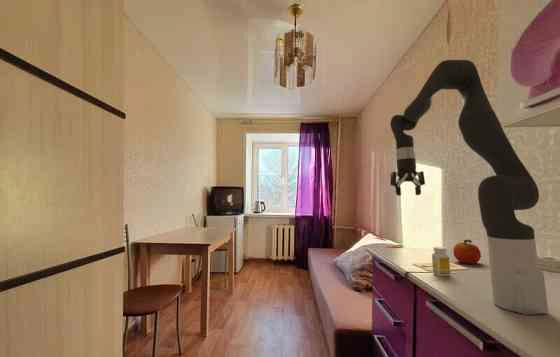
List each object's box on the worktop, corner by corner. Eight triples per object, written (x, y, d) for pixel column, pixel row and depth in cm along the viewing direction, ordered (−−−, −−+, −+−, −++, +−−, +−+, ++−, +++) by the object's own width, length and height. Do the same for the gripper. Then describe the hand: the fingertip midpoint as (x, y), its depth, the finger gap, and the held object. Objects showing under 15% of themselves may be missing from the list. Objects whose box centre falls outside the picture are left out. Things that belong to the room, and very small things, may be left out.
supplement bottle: (430, 274, 93) (428, 247, 94) (436, 271, 96) (434, 245, 97) (447, 277, 89) (445, 249, 90) (452, 274, 92) (450, 247, 93)
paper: (468, 269, 98) (468, 268, 98) (428, 271, 97) (428, 270, 97) (448, 262, 109) (448, 261, 109) (412, 264, 108) (412, 263, 108)
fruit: (472, 260, 112) (470, 237, 113) (487, 265, 103) (484, 240, 104) (449, 260, 113) (447, 237, 114) (462, 265, 104) (459, 240, 105)
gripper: (394, 157, 109) (397, 195, 107) (426, 157, 109) (429, 194, 108) (386, 160, 116) (388, 196, 115) (416, 159, 117) (419, 195, 115)
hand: (408, 195), depth 111 cm, fingers open, 8 cm apart
